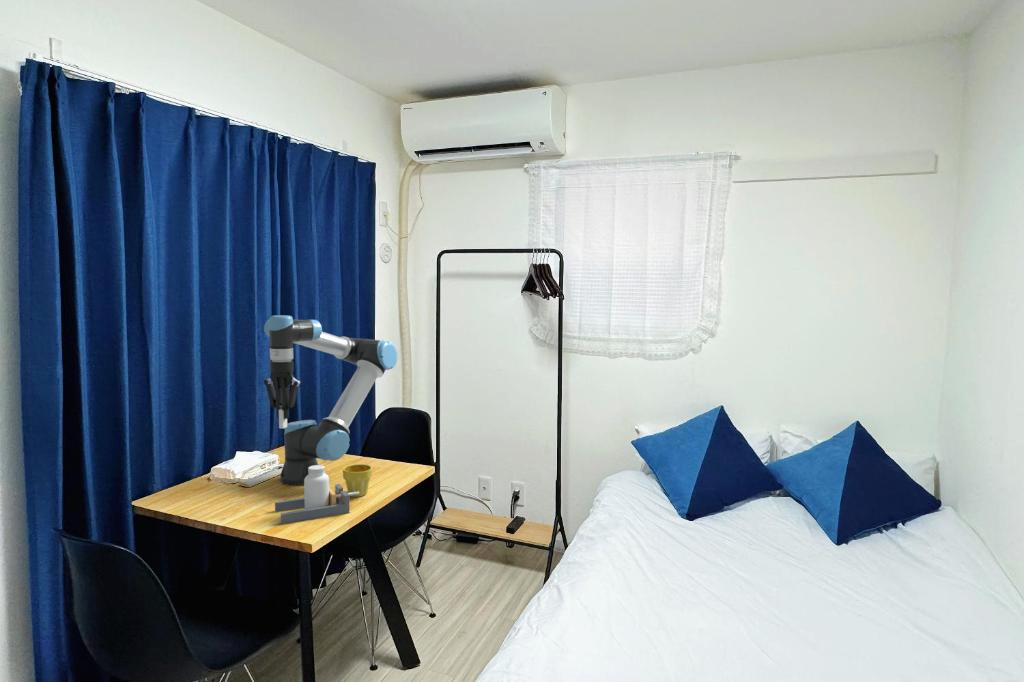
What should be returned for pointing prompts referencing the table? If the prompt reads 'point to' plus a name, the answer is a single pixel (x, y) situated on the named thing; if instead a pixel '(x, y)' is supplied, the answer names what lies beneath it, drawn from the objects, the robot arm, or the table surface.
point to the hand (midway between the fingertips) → (283, 427)
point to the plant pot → (357, 478)
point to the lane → (312, 513)
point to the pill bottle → (316, 487)
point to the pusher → (333, 496)
